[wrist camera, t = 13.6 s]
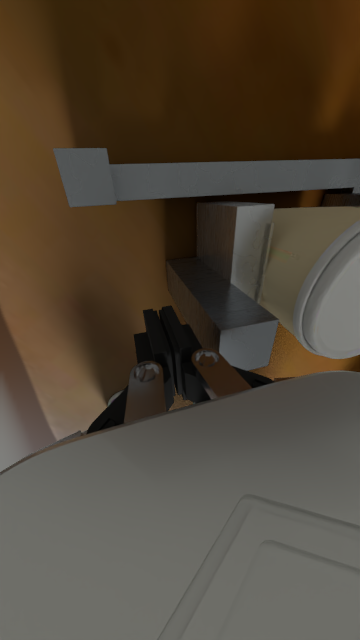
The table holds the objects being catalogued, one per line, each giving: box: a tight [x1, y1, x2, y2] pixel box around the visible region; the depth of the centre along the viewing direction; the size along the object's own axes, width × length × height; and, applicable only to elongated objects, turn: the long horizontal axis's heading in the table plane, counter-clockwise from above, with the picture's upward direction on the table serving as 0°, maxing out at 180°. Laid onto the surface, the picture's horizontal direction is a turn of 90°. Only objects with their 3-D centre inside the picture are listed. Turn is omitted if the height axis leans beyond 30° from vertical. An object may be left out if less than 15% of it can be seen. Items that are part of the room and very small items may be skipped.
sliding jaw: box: [166, 201, 279, 371], centre depth 16 cm, size 12×6×12 cm, turn 2°
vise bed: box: [53, 148, 360, 207], centre depth 18 cm, size 17×27×8 cm, turn 92°
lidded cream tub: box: [260, 206, 360, 359], centre depth 17 cm, size 9×9×12 cm
